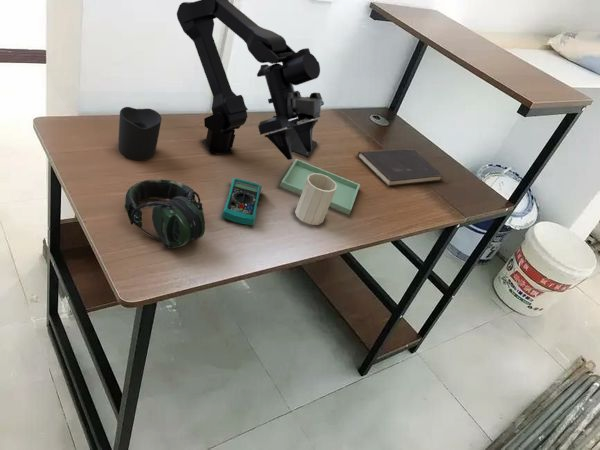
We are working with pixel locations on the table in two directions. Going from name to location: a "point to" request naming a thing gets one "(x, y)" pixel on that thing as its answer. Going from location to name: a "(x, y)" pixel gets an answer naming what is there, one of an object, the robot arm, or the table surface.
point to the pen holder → (138, 132)
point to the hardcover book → (399, 167)
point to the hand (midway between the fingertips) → (300, 155)
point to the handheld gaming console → (298, 142)
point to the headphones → (167, 210)
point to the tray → (344, 188)
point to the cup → (315, 198)
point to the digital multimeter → (242, 202)
